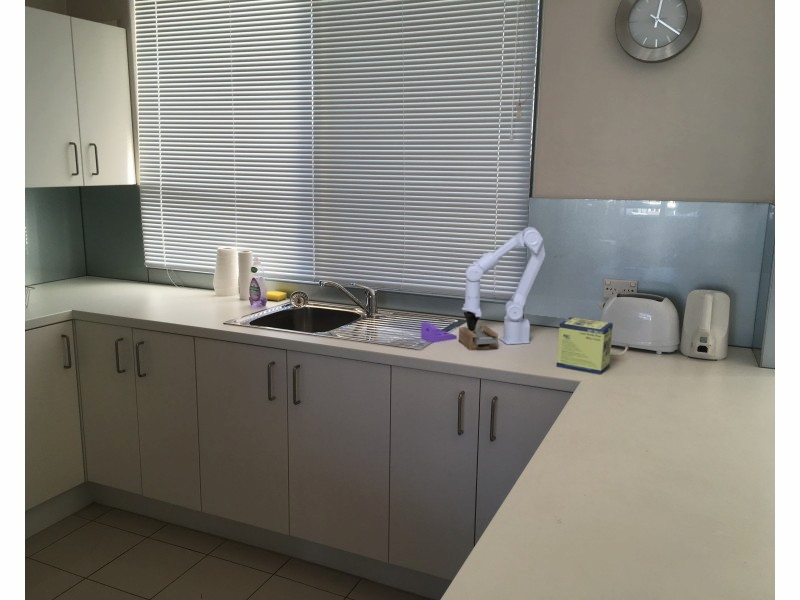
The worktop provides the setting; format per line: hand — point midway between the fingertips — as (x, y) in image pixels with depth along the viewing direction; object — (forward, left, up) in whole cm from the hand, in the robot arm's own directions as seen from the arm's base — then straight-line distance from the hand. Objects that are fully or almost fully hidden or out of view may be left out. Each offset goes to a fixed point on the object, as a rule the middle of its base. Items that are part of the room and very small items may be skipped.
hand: (471, 330), depth 261 cm
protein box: (-26, +40, -4) cm, 48 cm away
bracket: (+12, -4, -4) cm, 13 cm away
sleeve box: (0, +7, -4) cm, 8 cm away
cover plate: (0, +10, -1) cm, 10 cm away
